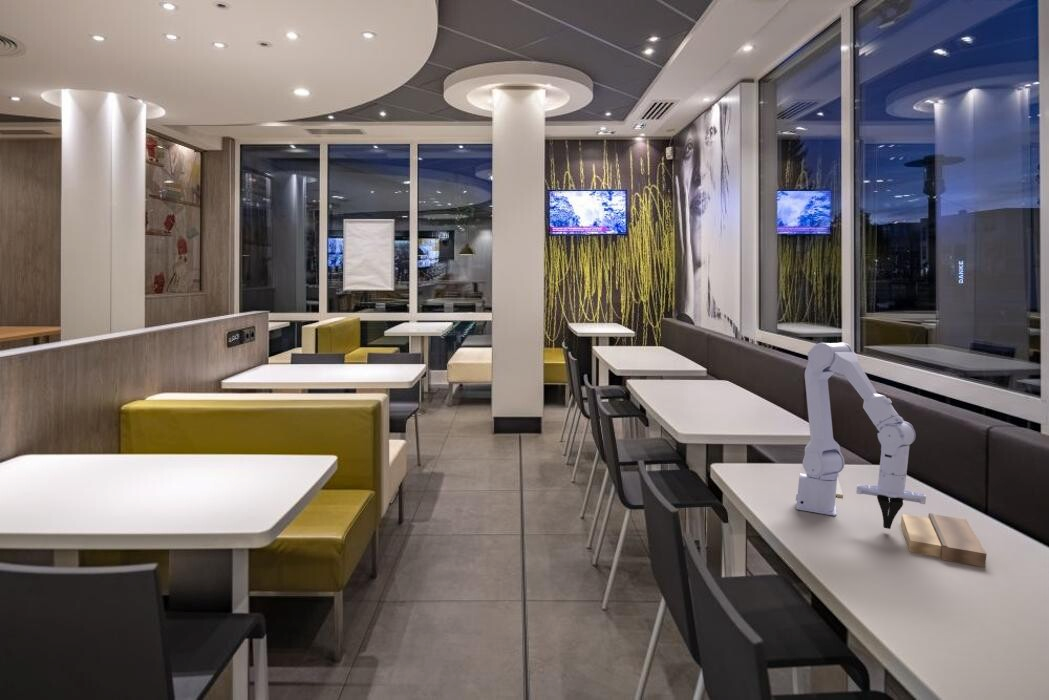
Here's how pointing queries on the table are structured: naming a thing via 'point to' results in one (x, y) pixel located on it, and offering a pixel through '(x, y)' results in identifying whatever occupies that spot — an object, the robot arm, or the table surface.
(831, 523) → the table surface
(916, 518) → the oak plank
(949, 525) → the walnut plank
